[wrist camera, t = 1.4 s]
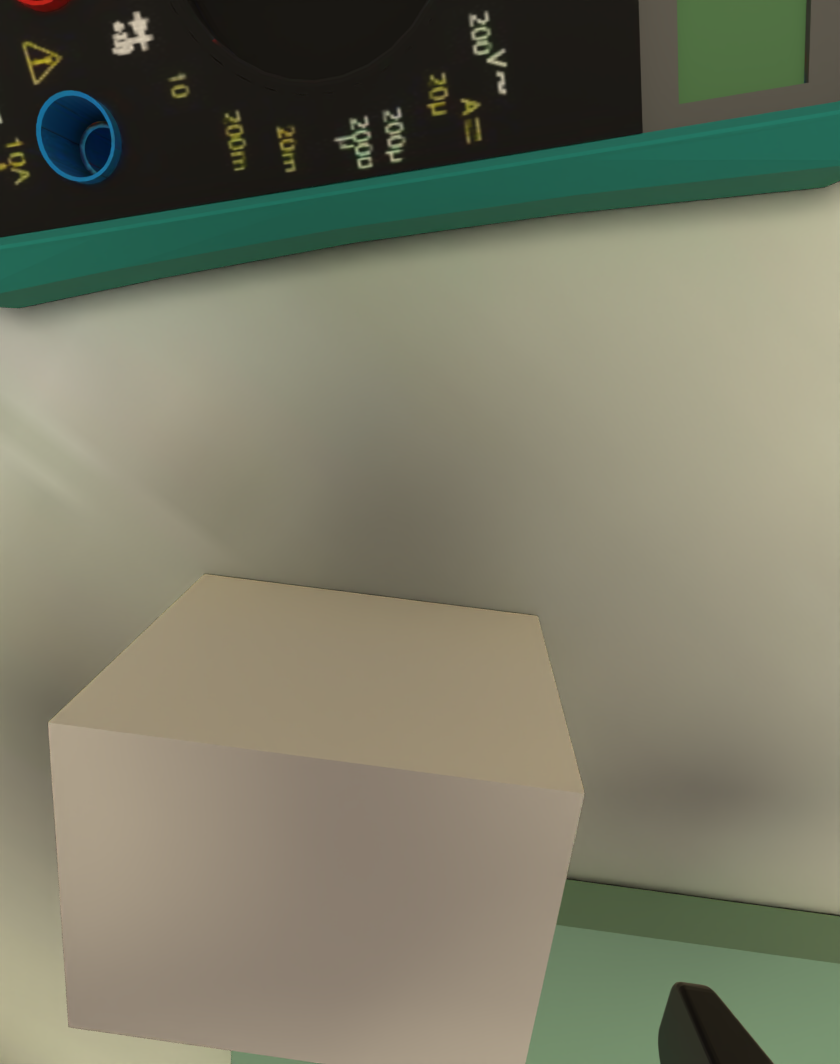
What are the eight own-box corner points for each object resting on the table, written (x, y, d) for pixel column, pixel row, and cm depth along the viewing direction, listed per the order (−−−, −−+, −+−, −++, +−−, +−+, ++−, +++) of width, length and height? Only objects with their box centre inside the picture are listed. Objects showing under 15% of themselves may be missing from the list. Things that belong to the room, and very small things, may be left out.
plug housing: (537, 616, 12) (584, 793, 8) (499, 831, 14) (519, 1091, 9) (204, 573, 13) (47, 722, 8) (201, 791, 14) (68, 1027, 9)
